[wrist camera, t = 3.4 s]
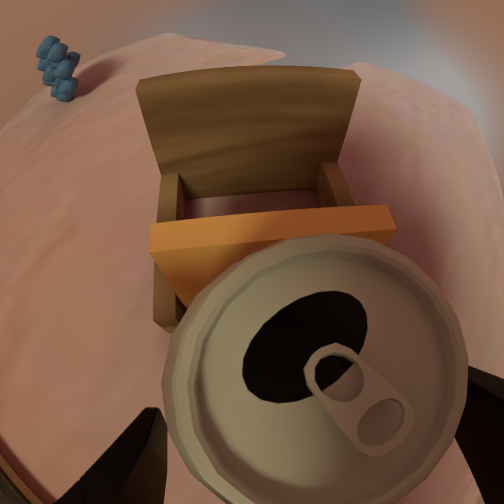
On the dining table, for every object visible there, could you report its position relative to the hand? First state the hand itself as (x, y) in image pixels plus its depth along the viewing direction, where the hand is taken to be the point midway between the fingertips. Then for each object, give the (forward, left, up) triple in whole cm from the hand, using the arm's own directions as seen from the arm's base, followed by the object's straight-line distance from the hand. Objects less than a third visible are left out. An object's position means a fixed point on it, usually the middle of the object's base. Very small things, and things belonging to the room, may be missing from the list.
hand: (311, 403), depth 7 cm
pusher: (+6, 0, -8) cm, 10 cm away
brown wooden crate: (+10, 0, -8) cm, 13 cm away
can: (+1, 0, -8) cm, 8 cm away
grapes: (+39, +24, -8) cm, 46 cm away
